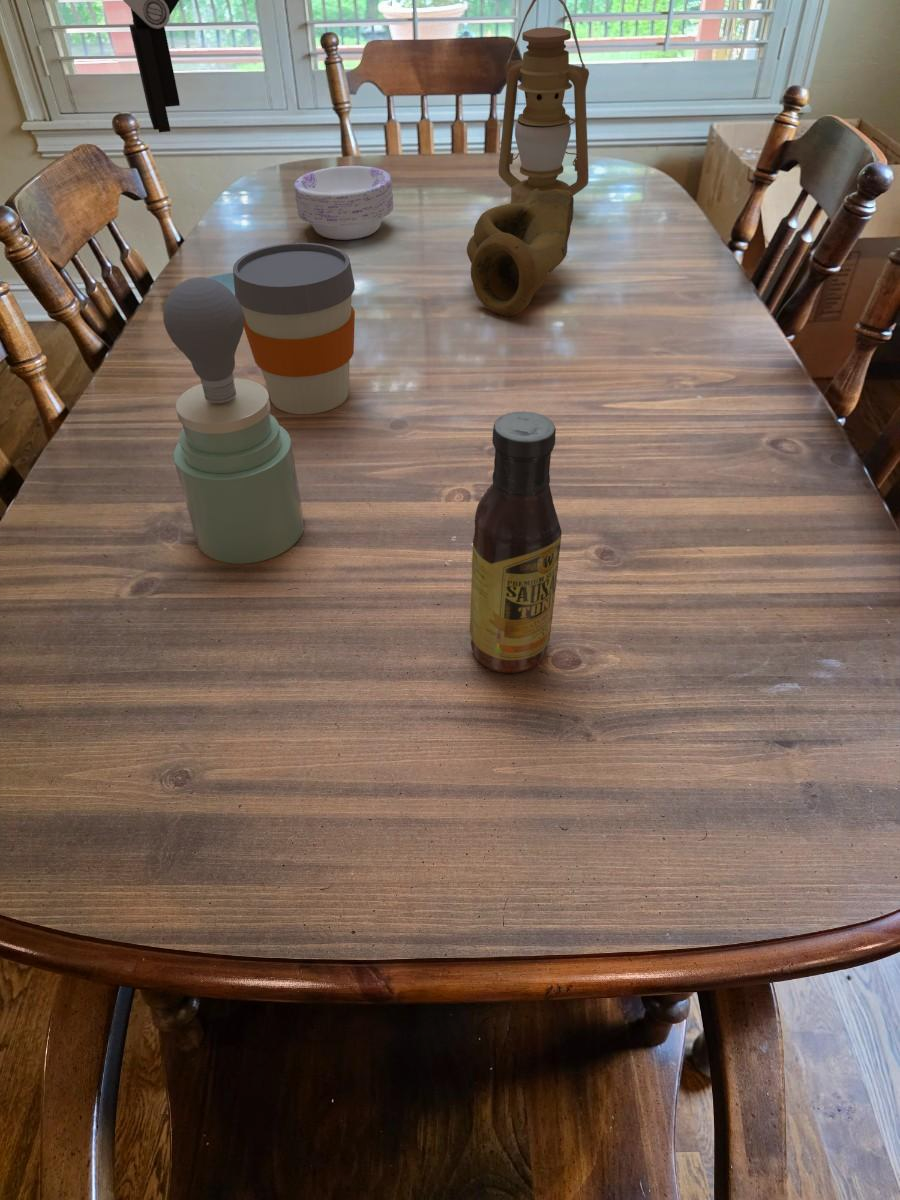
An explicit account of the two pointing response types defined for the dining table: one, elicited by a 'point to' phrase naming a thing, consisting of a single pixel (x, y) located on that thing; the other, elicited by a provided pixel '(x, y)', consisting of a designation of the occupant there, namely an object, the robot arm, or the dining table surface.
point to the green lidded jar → (237, 475)
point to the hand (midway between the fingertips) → (53, 136)
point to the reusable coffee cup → (299, 322)
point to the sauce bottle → (515, 548)
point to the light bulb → (206, 332)
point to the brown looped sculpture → (519, 248)
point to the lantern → (544, 113)
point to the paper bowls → (344, 200)
